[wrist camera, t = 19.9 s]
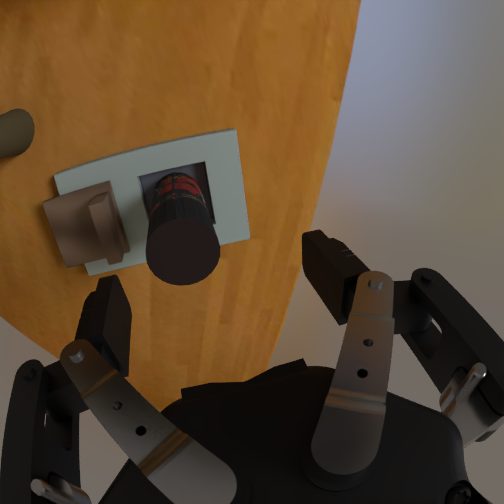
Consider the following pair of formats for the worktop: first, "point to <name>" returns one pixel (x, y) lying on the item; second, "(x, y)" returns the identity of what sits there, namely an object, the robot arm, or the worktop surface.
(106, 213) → the cover
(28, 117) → the cork
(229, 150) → the socket board
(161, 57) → the worktop surface
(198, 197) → the deodorant
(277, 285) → the worktop surface
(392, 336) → the robot arm
